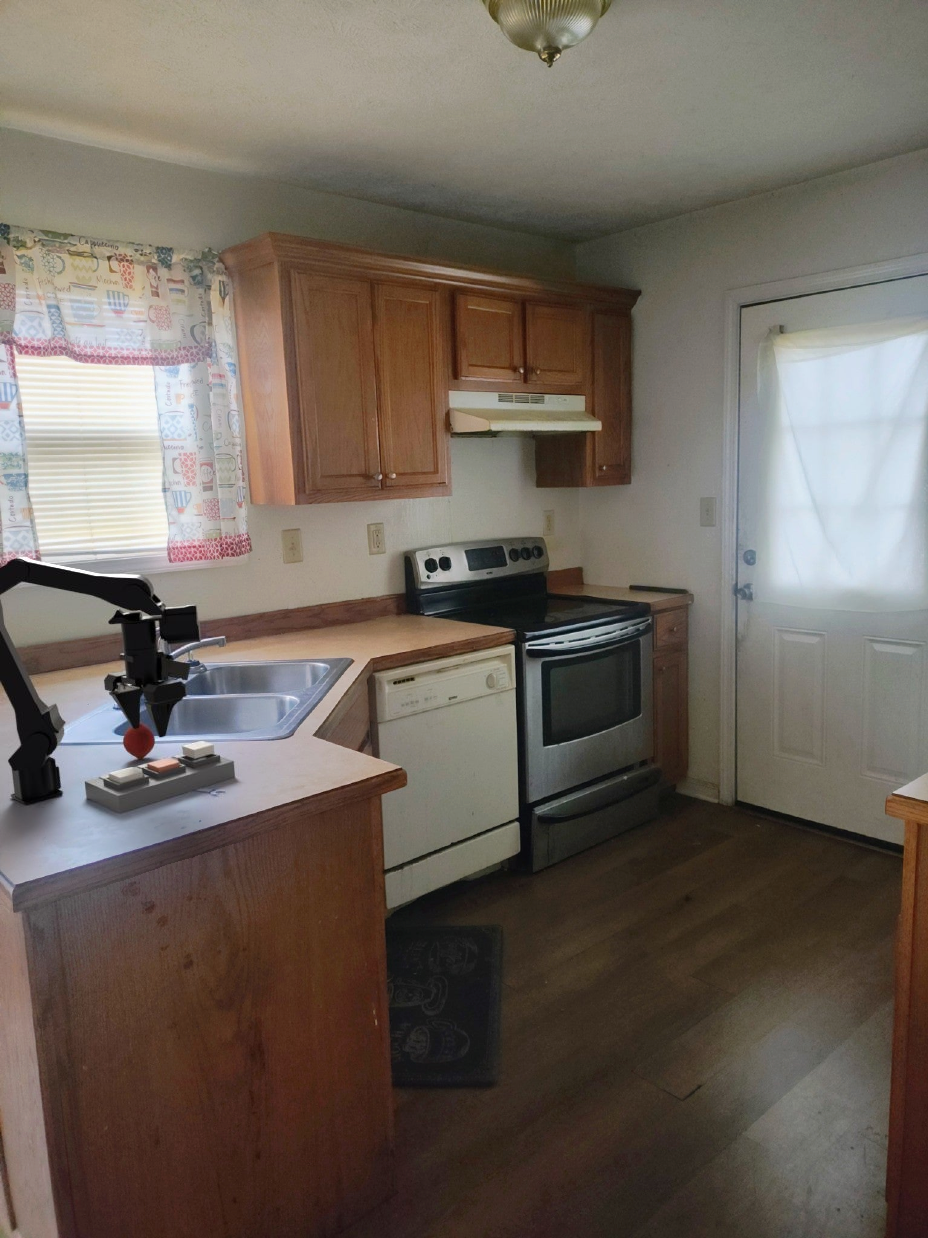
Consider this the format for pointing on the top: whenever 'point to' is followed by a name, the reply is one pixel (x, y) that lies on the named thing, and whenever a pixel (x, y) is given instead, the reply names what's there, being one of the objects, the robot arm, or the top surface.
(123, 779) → the button left
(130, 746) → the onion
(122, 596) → the robot arm
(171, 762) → the button middle
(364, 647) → the top surface
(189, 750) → the button right
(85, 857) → the top surface
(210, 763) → the button panel
